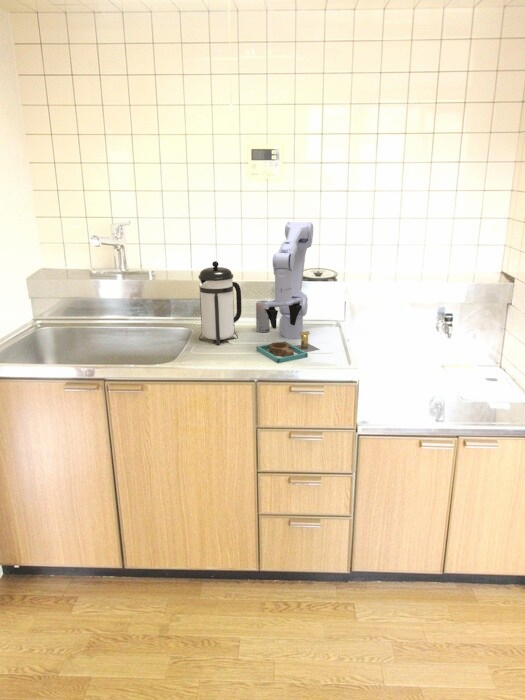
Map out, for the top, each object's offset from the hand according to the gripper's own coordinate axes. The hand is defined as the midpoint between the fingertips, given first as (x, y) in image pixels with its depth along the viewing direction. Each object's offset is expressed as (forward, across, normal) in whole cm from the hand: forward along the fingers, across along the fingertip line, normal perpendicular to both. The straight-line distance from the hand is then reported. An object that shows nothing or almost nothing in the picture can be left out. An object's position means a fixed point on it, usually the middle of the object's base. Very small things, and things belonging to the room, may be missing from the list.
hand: (283, 326), depth 180 cm
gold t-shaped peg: (+9, +7, -3) cm, 12 cm away
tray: (+9, -3, -4) cm, 11 cm away
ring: (+9, -3, -5) cm, 10 cm away
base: (+9, +7, -3) cm, 12 cm away
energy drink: (+10, +6, +26) cm, 28 cm away
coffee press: (+10, -13, +26) cm, 30 cm away
